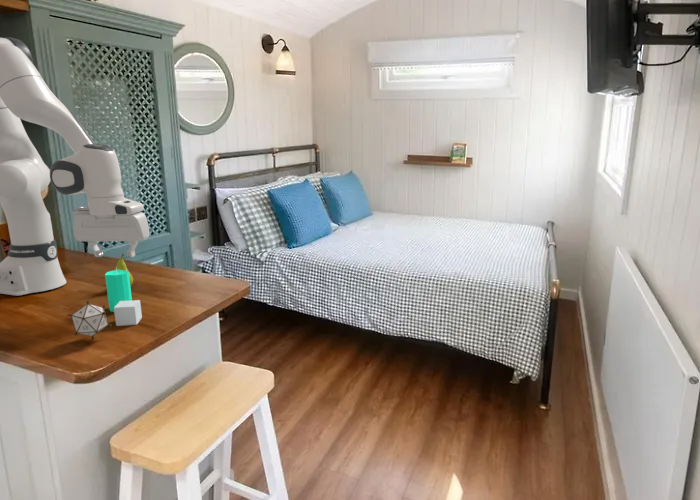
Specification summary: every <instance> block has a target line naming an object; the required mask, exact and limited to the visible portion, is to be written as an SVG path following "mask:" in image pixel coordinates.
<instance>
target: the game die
mask: <svg viewBox="0 0 700 500" xmlns="http://www.w3.org/2000/svg"><path fill="white" fill-rule="evenodd" d="M105 308H106V305H102V306H99V305H94V304H91V303H90V301H89V300H86V304H85V305H83V306H82V307H81V308H80V309H78V310H76V311H75V312H73V313H72V314H71V313H68V314H67V316H68V317H71V320H72V324H73V326H74V330H75V333H74V334H73V337H75V336H77V335H84V336H88V337H91V339H92V340H94V339H95V337H94V336H95V335H99V333H100V331H102V330H104V329H105V328H106V327H108V326H109V327H112V325H113V324H111V323H109V322H108V318H107V315H106V314H107V312H106V311H105Z"/></svg>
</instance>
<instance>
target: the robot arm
mask: <svg viewBox="0 0 700 500" xmlns="http://www.w3.org/2000/svg"><path fill="white" fill-rule="evenodd" d="M32 55H33V54H32V52H31V50H30V49H29V47H28V46H27V45H26V44H25V43H24V42H23V41H22V40H20V39H18V38H14V37H9V36H8V37H7V36H4V37H0V206H1V208H2V210H3V213H4V215H5V218H6V219H5V220H6V222H7V226H8V227H7V228H8V233H9V238H10V244H9V245H6V246H4V247H3V248H4V250H3V251H4V252H5V251H8V252H7V256H6V257H5V258H4V259H3V260H2V261H0V294H3V295H8V296H9V295H10V296H15V297H16V296H18V297H19V296H23V295H28V294H33V293H39V292H45V291H46V292H47V291H49V290H54V289H57V288H60V287H62V286H64V285H65V284H67V282H68V281H67V280H66V277H65V275H64V274H63V271H62V268H61V266H60V262H59V259H58V258H59V257H58V246H57V241H56V239H55V238H54V230H53V224H52V220H51V219H52V218H51V214H50V212H49V211H48V209H47V207H46V206H45V203H44V199H43V198H42V194H41V192H43V191H45V190H46V189H47V188H48V186H49V184H50V183H51V184H52V186H53V188H54V189H55V191H57V192H59V193H60V194H62V195H65V196H67V195H69V196H76V195H81V194H85V195H86V199H87V200H86V201H87V205H88V206H78V207H76V208H75V209H73V211H72V212H71V213H72V227H73V228H72V229H73V237H74V239H75V241H77V242H87V243H88V247H90V249H91V250H92V252H93V255H94V257H95V258H102V257H103V256H104V250H103V249H100V248H99V245H98V244H99V242H128V243H127V244H128V246H130V247H129V249H128V250H126V251H125V254H126V257H127V258H134V257H136V251H135V250H136V248H137V246H138V244H139V243H138V242H143V241H145V240H148V238H149V237H150V236H151V234H150V228H149V223H148V219H147V216H146V214H145V213H144V212H143V211H144V209H145V208H144V207H145V206H144V204H143V203H141V202H139V201H135V200H132V199H130V198H127V197H125V193H124V190H123V189H122V185H121V184H122V183H121V182H122V174H121V173H122V172H121V167H120V162H119V159H118V155H117V154H116V151H115V150H114V148H113V147H111V146H108V145H105V144H100V143H99V144H96V142H95V141H94V139H93V138H92V137H91V136H90V134H89V132H87V129H86V128H85V127H84V126H83V125H82V123H81V122H80V121H79V119H78V118H77V116H76V115H75V114H74V113H73V112H72V111H71V110H70V109H69V108H68V107H67V105H64V103H62V102H61V101H60V99H59V98H57V97H56V94H54V93H53V92H52V90H51V89H50V88H49V86H48V85H47V83H46V82H45V80H44V79H43V77H42V75H41V74H40V72H39V71H38V69H37V67H36V66H35V65H34V59H33V56H32ZM22 121H25V122H28V123H31V124H36V125H39V126H42V127H44V128H47V129H49V130H50V131H54V132H55V133H57V134H58V135H59V136H60V137H61V138H63V140H64V141H65V142H66V144H67V146H69V148H70V149H71V150H72V151H73V153H74V154H71V155H69V156H66V157H64V158H62V159H59V160H56V161H54V162H53V163H52V165H51V167H50V168H49V167H48V165H47V164H45V162H44V160H43V158H42V157H41V155H40V154H39V151H38V150H37V149H36V147H35V146H34V144H33V142H32V140H31V139H30V137H29V136H28V133H27V132H26V129H25V126H24V125H23V123H22Z"/></svg>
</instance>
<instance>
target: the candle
mask: <svg viewBox="0 0 700 500" xmlns="http://www.w3.org/2000/svg"><path fill="white" fill-rule="evenodd" d="M128 271H129V269H128V270H117V268H116V267H115V270H110V271H107V272H106V273H105V274H104V278H105V285H106V286H105V287H106V292H107V300H108V309H109V311H110V312H111V313H112V312H113V313H115V312H114V307H115V306H116V305H117V304H118V303H119V302H120V301H131V300H133V298H132V289H131V287H132V286H131V287H130V279H129V272H130V271H129V272H128Z"/></svg>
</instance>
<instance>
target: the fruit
mask: <svg viewBox="0 0 700 500" xmlns="http://www.w3.org/2000/svg"><path fill="white" fill-rule="evenodd" d="M124 256H125V254H124V253H122V254H121V257H120V259H118V261H117V263H116V265H115V269H116V268H117V270H128V272H129V279H130V287H132V286H133V283H134V277H133V275H132V274H131V272H130V271H129V269H128V268H127V265H126V263H125V261H124V259H123V257H124Z"/></svg>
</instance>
